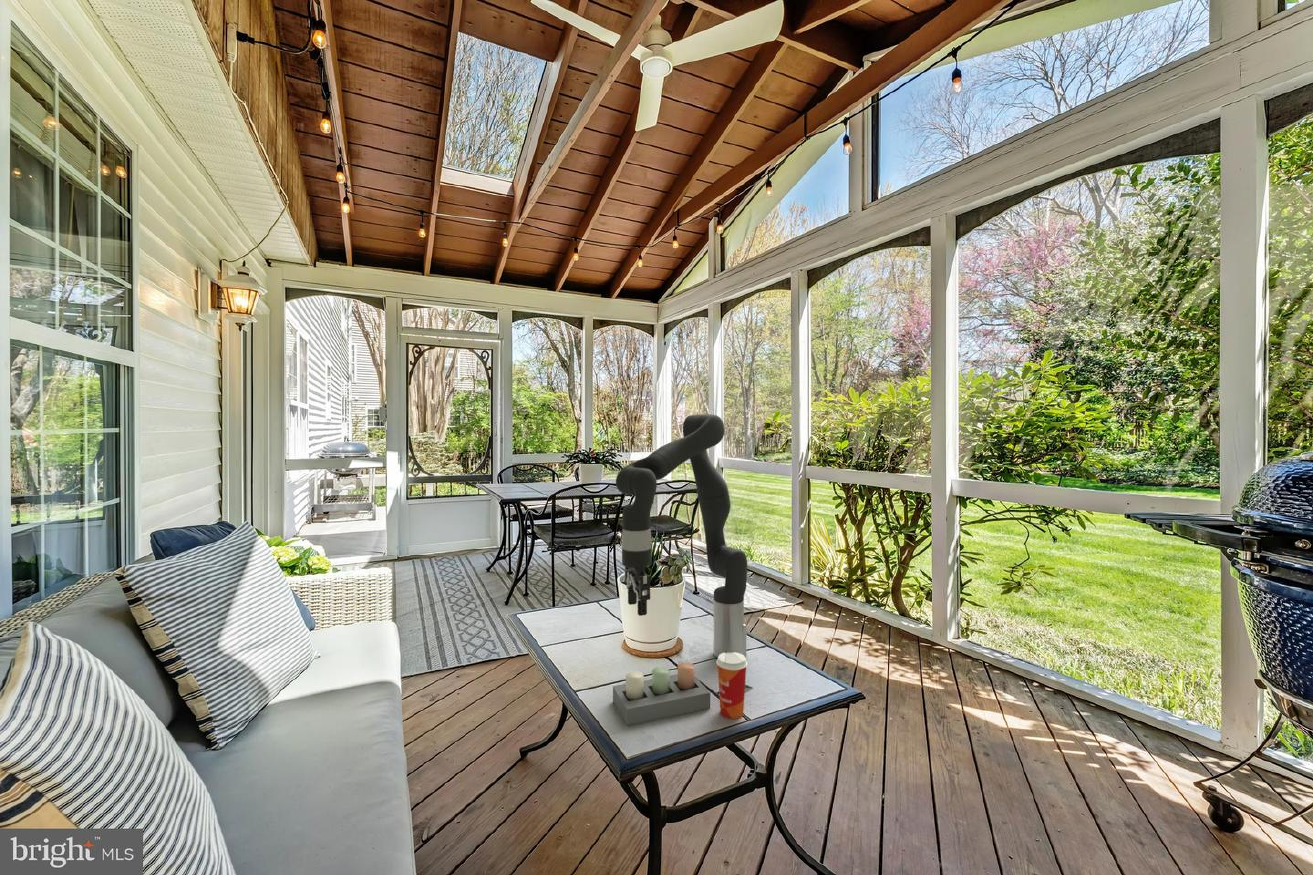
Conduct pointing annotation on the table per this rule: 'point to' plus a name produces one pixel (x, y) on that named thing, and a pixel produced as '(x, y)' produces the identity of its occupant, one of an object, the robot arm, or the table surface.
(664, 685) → the sage button
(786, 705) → the table surface
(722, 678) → the paper cup
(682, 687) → the terracotta button
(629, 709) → the button board
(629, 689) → the cream button
